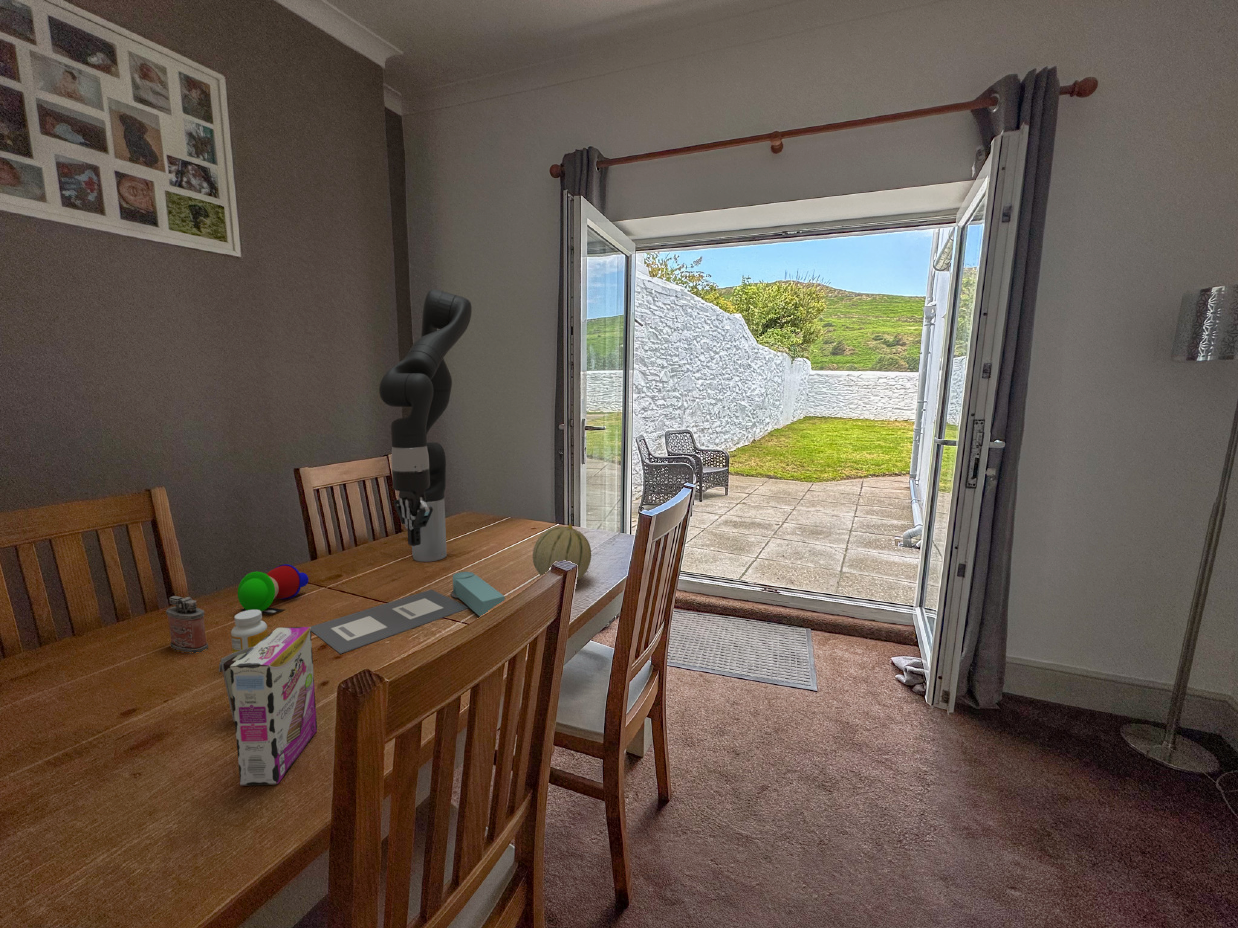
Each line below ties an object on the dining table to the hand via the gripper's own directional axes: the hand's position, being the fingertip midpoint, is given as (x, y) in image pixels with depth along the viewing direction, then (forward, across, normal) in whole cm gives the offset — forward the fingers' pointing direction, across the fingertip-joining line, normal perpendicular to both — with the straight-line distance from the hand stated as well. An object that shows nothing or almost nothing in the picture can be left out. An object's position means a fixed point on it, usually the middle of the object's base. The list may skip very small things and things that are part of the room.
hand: (414, 544), depth 120 cm
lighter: (+15, -16, -38) cm, 44 cm away
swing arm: (+14, +7, +10) cm, 19 cm away
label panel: (+15, 0, -6) cm, 16 cm away
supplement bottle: (+15, 0, -32) cm, 35 cm away
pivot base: (+15, 0, +12) cm, 19 cm away
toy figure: (+15, -26, -20) cm, 37 cm away
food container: (+15, +19, -34) cm, 42 cm away
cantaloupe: (+15, +12, +33) cm, 38 cm away
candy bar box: (+15, +31, -37) cm, 51 cm away
